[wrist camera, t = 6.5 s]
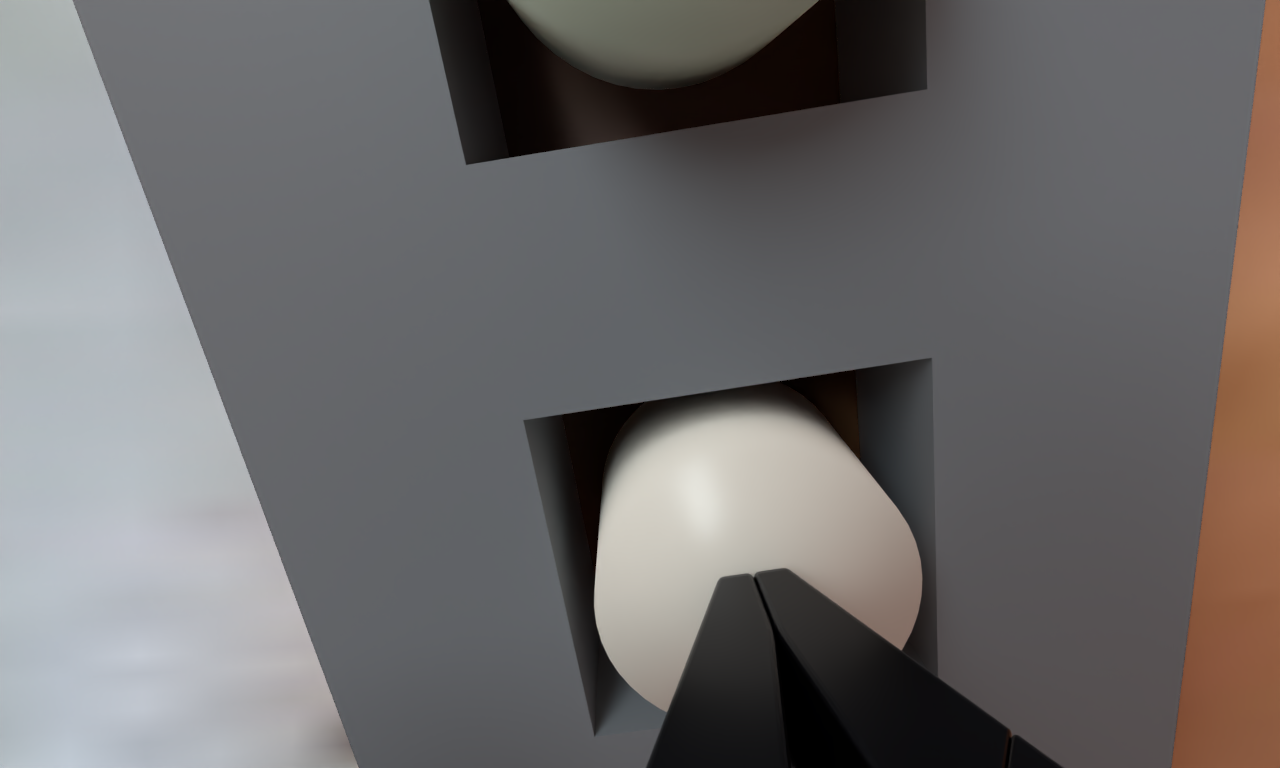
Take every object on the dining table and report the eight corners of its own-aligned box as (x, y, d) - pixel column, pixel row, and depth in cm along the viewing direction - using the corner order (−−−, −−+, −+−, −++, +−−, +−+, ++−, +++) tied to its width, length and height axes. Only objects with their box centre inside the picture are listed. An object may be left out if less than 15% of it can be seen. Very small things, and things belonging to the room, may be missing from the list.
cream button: (851, 574, 12) (925, 707, 9) (622, 607, 12) (622, 749, 9) (837, 354, 10) (918, 426, 7) (582, 393, 10) (565, 479, 8)
